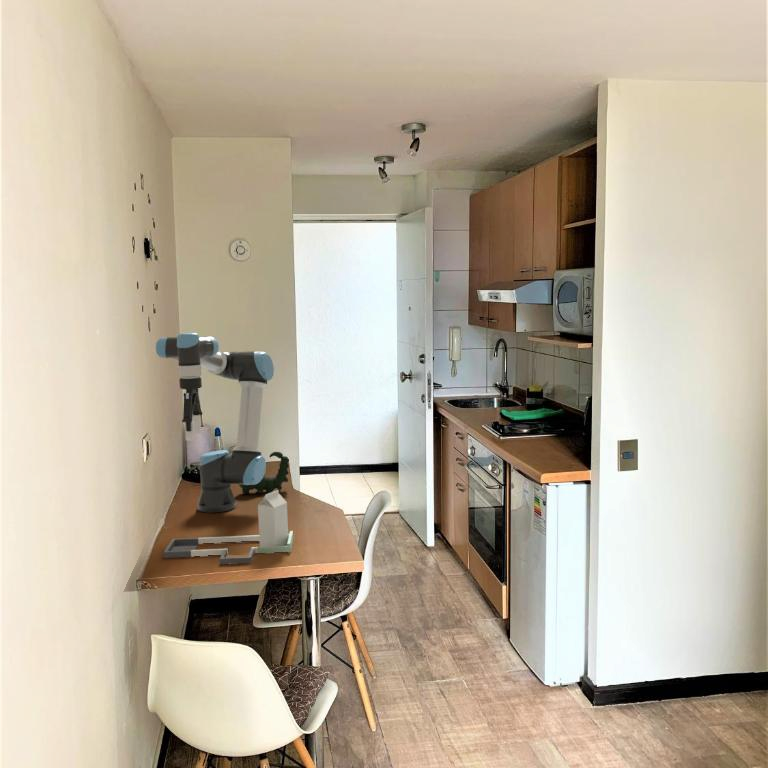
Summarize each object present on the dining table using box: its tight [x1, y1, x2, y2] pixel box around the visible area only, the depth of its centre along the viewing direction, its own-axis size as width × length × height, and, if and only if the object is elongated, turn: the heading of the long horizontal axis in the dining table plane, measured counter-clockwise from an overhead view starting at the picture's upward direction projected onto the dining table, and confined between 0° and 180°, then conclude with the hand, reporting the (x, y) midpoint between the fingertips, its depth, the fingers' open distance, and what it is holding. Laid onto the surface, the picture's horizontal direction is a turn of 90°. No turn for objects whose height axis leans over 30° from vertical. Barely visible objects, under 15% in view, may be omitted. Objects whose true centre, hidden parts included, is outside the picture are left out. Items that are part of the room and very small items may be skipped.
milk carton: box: [257, 489, 289, 547], centre depth 263 cm, size 7×7×19 cm
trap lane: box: [162, 530, 294, 565], centre depth 259 cm, size 23×42×3 cm, turn 93°
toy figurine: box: [238, 451, 290, 495], centre depth 336 cm, size 9×19×25 cm
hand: (193, 436), depth 273 cm, fingers open, 13 cm apart
